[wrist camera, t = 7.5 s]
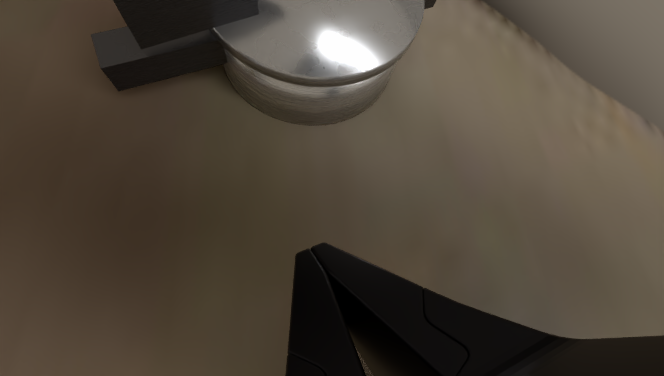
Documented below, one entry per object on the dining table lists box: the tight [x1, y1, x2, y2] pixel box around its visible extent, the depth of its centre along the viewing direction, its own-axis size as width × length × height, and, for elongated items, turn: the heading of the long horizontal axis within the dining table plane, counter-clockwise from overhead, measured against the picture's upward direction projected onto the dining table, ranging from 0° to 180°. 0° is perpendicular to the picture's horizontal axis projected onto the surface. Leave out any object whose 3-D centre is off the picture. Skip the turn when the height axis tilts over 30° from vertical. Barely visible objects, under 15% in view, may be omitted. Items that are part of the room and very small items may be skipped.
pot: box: [91, 0, 436, 125], centre depth 25 cm, size 14×24×5 cm, turn 114°
